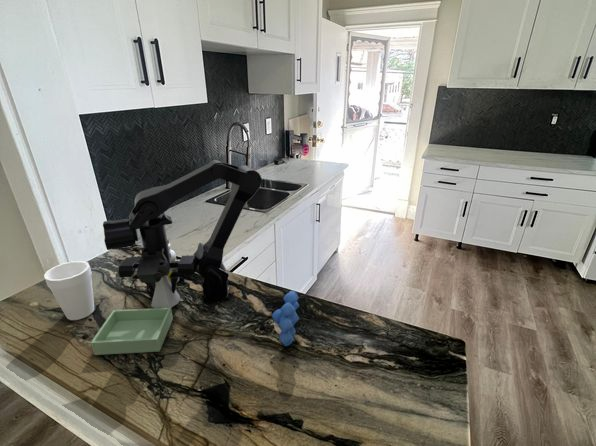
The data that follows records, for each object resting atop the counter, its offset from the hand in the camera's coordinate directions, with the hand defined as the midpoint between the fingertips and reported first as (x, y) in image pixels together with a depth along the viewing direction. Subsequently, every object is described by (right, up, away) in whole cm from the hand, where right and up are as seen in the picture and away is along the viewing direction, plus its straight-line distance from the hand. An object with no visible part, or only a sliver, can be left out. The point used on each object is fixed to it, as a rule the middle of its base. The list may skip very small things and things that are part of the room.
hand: (164, 292), depth 85 cm
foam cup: (-22, -5, -1) cm, 22 cm away
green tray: (-3, -8, -9) cm, 13 cm away
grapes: (+33, -9, -8) cm, 35 cm away
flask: (0, -3, +1) cm, 3 cm away
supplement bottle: (-4, 0, +13) cm, 13 cm away
